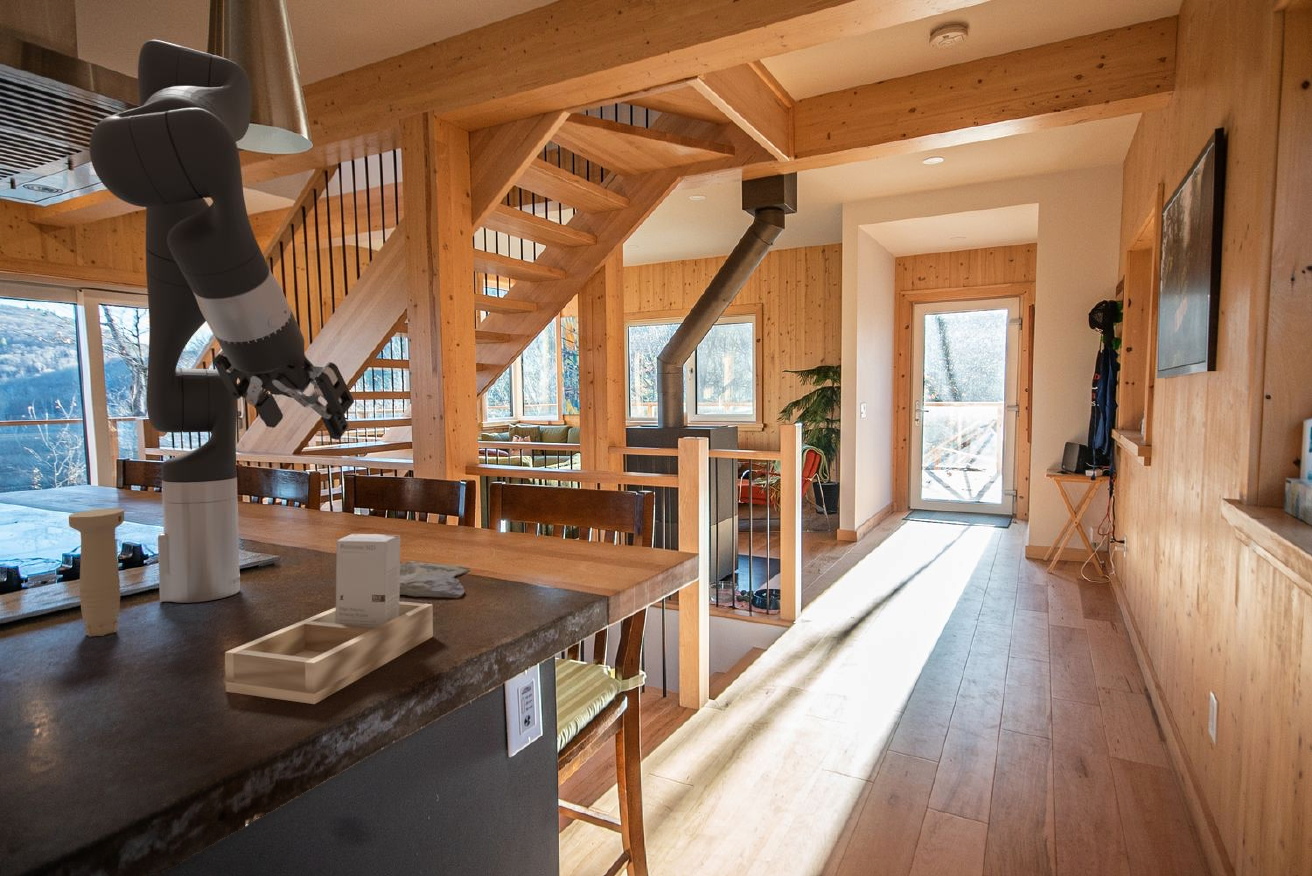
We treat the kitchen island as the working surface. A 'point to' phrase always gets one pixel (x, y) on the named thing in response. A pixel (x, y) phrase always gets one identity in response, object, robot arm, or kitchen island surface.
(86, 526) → the handle
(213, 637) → the kitchen island surface
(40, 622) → the kitchen island surface
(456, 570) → the fossil rock
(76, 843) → the kitchen island surface
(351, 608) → the skincare box
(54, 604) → the kitchen island surface
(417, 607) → the tray
